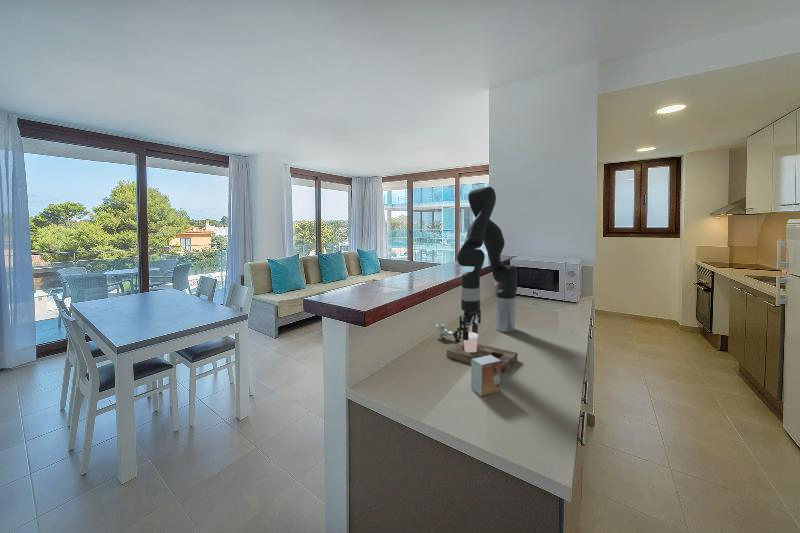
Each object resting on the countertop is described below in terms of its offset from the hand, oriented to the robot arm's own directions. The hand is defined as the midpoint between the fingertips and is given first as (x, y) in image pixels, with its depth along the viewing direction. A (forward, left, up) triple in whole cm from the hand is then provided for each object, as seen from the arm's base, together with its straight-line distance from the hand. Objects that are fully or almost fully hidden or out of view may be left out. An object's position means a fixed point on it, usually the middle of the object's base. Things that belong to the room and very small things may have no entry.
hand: (470, 337), depth 131 cm
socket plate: (0, +5, -8) cm, 9 cm away
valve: (-11, -18, -8) cm, 22 cm away
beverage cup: (0, 0, -8) cm, 8 cm away
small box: (+22, +17, -8) cm, 29 cm away
